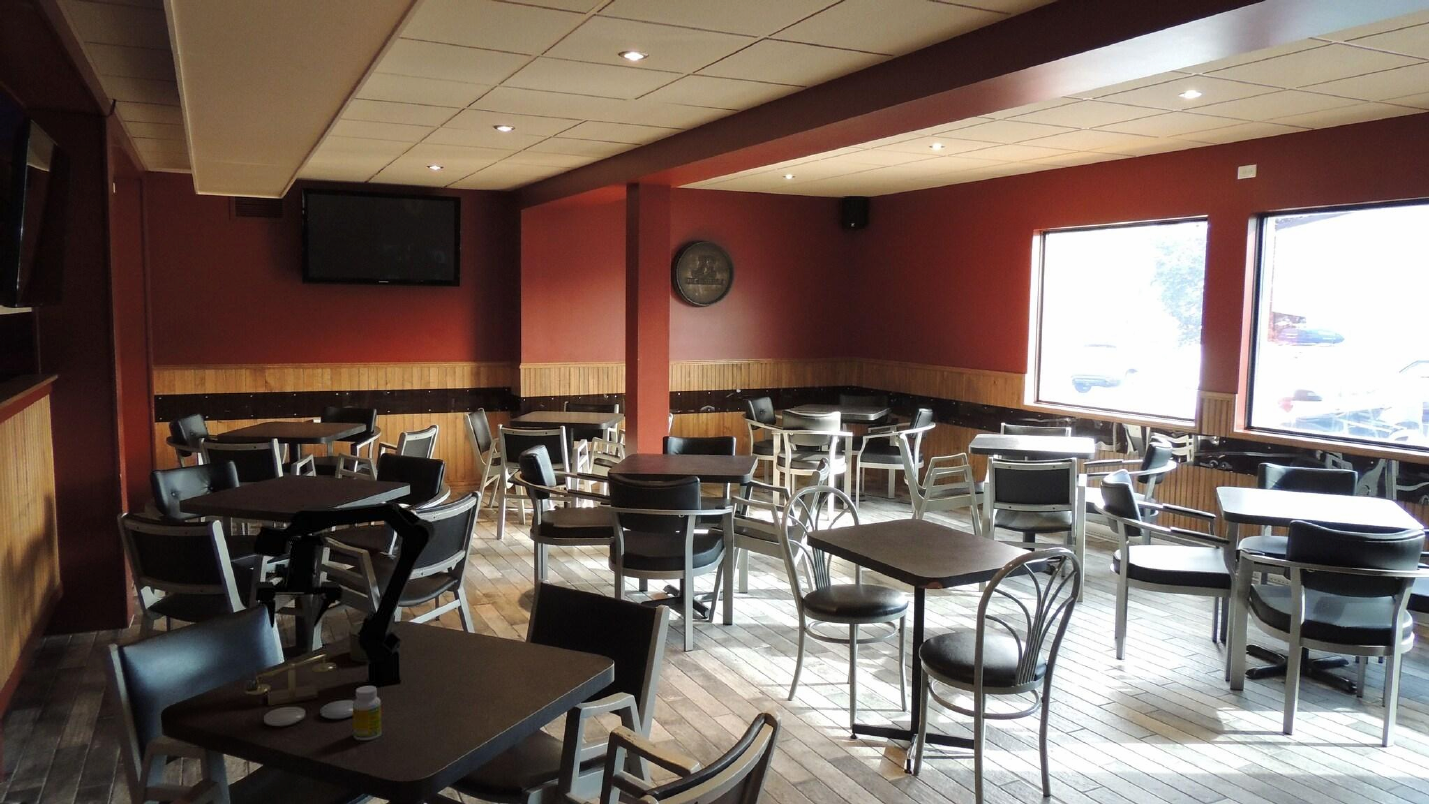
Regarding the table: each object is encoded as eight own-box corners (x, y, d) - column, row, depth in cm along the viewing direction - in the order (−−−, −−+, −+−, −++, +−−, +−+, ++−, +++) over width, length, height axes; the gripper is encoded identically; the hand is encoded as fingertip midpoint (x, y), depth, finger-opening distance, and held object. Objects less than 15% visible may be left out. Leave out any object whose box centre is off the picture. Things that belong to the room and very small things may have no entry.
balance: (336, 686, 232) (334, 648, 231) (338, 695, 227) (336, 656, 226) (246, 699, 224) (244, 660, 223) (246, 709, 219) (244, 669, 218)
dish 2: (358, 703, 222) (358, 698, 222) (362, 717, 215) (362, 711, 214) (319, 709, 218) (319, 704, 218) (322, 723, 211) (321, 717, 211)
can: (409, 648, 258) (408, 622, 257) (383, 664, 246) (382, 637, 246) (366, 644, 261) (366, 618, 260) (339, 660, 249) (338, 633, 249)
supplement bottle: (372, 742, 202) (371, 695, 201) (348, 739, 203) (346, 693, 203) (386, 731, 208) (385, 685, 207) (362, 729, 209) (361, 683, 208)
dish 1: (304, 710, 218) (304, 704, 218) (306, 724, 211) (306, 718, 211) (263, 716, 215) (263, 710, 215) (264, 730, 208) (264, 724, 207)
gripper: (336, 551, 244) (327, 614, 245) (253, 550, 233) (244, 615, 235) (347, 565, 234) (338, 630, 236) (260, 564, 224) (251, 632, 225)
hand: (293, 626), depth 233 cm, fingers open, 9 cm apart
